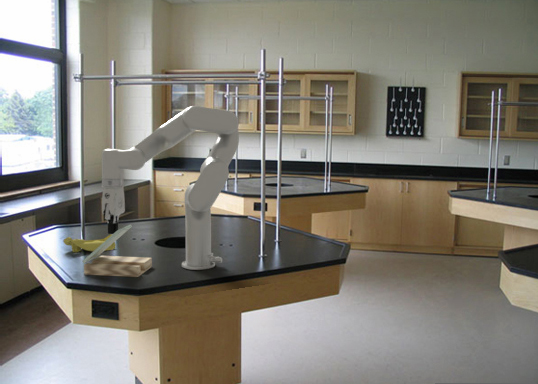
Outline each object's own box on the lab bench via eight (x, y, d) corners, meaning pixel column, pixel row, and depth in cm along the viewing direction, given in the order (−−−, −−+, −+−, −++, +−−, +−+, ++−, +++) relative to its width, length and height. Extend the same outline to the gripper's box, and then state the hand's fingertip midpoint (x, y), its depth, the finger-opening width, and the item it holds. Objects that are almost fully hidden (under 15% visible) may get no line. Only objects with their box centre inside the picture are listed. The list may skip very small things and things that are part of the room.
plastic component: (103, 239, 241) (113, 232, 235) (106, 255, 240) (116, 249, 233) (59, 242, 227) (69, 235, 221) (62, 259, 226) (72, 253, 219)
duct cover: (132, 226, 203) (130, 224, 203) (119, 232, 191) (117, 230, 191) (98, 255, 206) (96, 253, 206) (83, 263, 194) (82, 261, 194)
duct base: (151, 266, 205) (151, 257, 204) (138, 276, 191) (137, 267, 190) (101, 264, 207) (101, 255, 207) (84, 274, 193) (83, 264, 193)
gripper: (114, 185, 187) (114, 238, 189) (130, 181, 202) (130, 230, 204) (93, 185, 188) (93, 237, 190) (111, 181, 203) (111, 229, 205)
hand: (113, 233), depth 197 cm, fingers closed
